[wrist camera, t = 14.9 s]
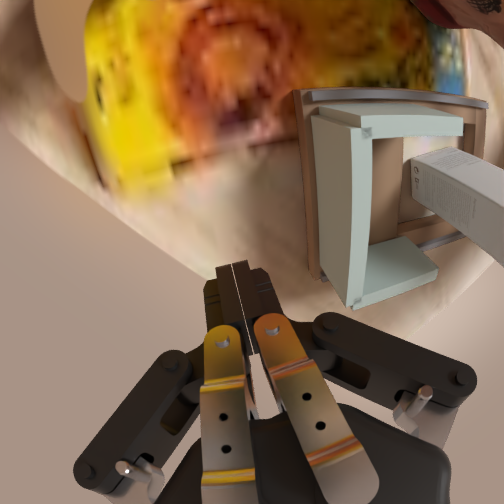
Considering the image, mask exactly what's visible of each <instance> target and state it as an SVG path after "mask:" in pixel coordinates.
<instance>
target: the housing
mask: <svg viewBox="0 0 504 504" xmlns="http://www.w3.org/2000/svg"><path fill="white" fill-rule="evenodd" d="M311 123H312V133H313V143H314V155H315V168H316V182H317V199H318V220H319V252H320V266H321V268H322V269H323V271H324V272H325V274H326V276H327V277H328V279H329V281H330V282H331V284H332V286H333V287H334V289H335V290H336V292H337V294H338V295H339V297H340V299H341V300H342V302H343V304H344V305H345V307H349V306H350V307H351V309H352V311H354V310H357V309H360V308H362V307H365V306H368V305H371V304H374V303H377V302H380V301H382V300H385V299H388V298H391V297H393V296H396V295H399V294H401V293H404V292H407V291H409V290H412V289H414V288H417V287H419V286H422V285H424V284H427V283H429V282H432V281H434V280H436V277H437V274H438V270H439V268H438V267H437V266H436V265H435V264H434V263H433V262H432V261H431V260H430V259H429V258H428V257H427V256H426V255H425V254H424V253H423V252H422V251H421V250H420V249H419V248H418V247H417V246H416V245H415V244H414V243H413V242H412V241H411V240H410V239H408V238H407V237H406V236H403V237H399V238H395V239H392V240H388V241H385V242H381V243H377V244H374V245H370V246H368V242H369V230H370V215H371V196H372V139H379V138H394V137H414V136H463V118H462V117H459V116H456V115H453V114H450V113H446V112H443V111H439V110H436V109H432V108H428V107H424V106H420V105H416V104H398V103H361V104H337V105H323V106H319V115H313V116H311Z"/></svg>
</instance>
